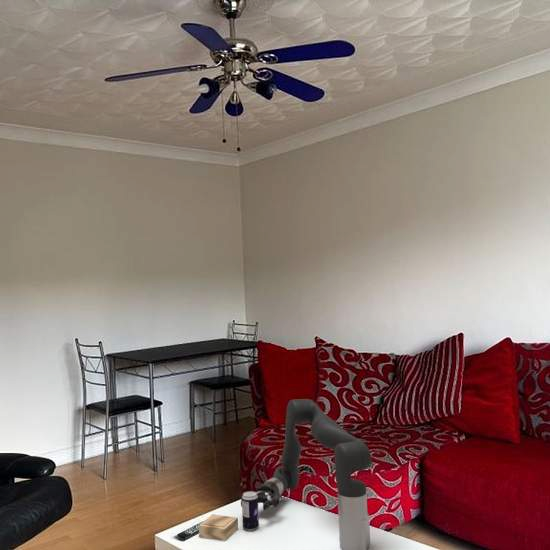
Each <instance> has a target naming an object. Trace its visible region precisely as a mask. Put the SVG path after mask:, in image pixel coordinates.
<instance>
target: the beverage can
mask: <svg viewBox="0 0 550 550" xmlns="http://www.w3.org/2000/svg"><path fill="white" fill-rule="evenodd" d="M256 492H257V491H250V492H247V491H245V492H243V493H242V495H243V496H242V495H241V496H242V506H241V509H242V510H241V512H242V516H241V517H242V528H243V529H245V530H246V531H250V532H252V531H255V530H257V528H259V526H260V521H259V519H260V518H259V517H260V516H259V514H260V513H259V503H258V496H257V493H256Z"/></svg>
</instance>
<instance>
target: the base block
mask: <svg viewBox="0 0 550 550" xmlns="http://www.w3.org/2000/svg"><path fill="white" fill-rule="evenodd" d="M238 530H239V517H236V516H229V515H221V514H211V515H210V516H209V517H208V518H206V519H205V520H203V521H202V522H201V523H200V524H198V537H199V538H202V537H204V539H210V540H215V541H216V540H217V541H223V542H225V541H227V540H228V539H229V538H230V537H231V536H232V535H234V534H235V533H236V531H238Z"/></svg>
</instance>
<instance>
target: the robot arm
mask: <svg viewBox="0 0 550 550" xmlns="http://www.w3.org/2000/svg"><path fill="white" fill-rule="evenodd" d="M285 417H286V418H285V428H284V429H285V432H284V433H285V434H284V436H285V437H284V444H283V450H282V455H281V460H280V461H281V466H278V467H276V469H275V471H274V472H273V476H272V477H271V478H270V479H268V480H265V482H264V483H262V484H261V485H260V486H259V487H258V489H257V491H255V492H256V493H257V496H258V504H262V509H263V511H267V510H269V508H272V507H274V508H277V507H278V506H279V505H280V504H281V502H282V494H284V492H285V491H286V490H287V489H289V490H294V489H295V488H297V486H298V485H299V481H300V468H299V461H300V457H301V452H302V446H301V442H300V440H299V438H298V436H297V434H296V430H295V429H296V424H311V427H310V431H311V435H312V437H313V439H315V440H316V441H317V442H318V443H319V444H320V445H321V446H323V447H324V448H327V449H329V450H333V451H334V453H333V455H334V456H333V458H334V469H335V479H336V481H335V482H336V486H337V509H338V510H337V511H338V534H339V548H340V549H341V550H368V549H369V547H370V545H371V535H370V533H371V532H370V528H371V527H370V514H369V513H368V502H367V501H368V499H367V485H366V483H365V482H364V481H362V480H360V479H357V478H353V477H352V475H351V473H354V472H361V471H364V470H366V469H368V468H369V467H370V466H371V464H372V460H373V457H372V453H371V451H370V449H369V447H368V445H366V443H365V442H363V441H362V440H361V439H359V438H357V437H355V436H354V435H352V434H351V433H349V432H348V431H346V429H344V428H343V427H342V426H340V425H339V424H338V423H337V422H336V421H335V420H333V419H332V418H331V417H329V416H328V415H327V414H326V413H325V412H324V411H323V410H322V409H321V408H320V407H319V405H318V404H317V403H316V402H315V401H314V400H312V399H309V398H303V399H302V398H299V399H298V398H297V399H296V398H295V399H291V400H289V401H288V404H287V407H286V415H285ZM246 492H251V491H250V490H248V491H246ZM242 496H243V494H242V495H240V507H242Z"/></svg>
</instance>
